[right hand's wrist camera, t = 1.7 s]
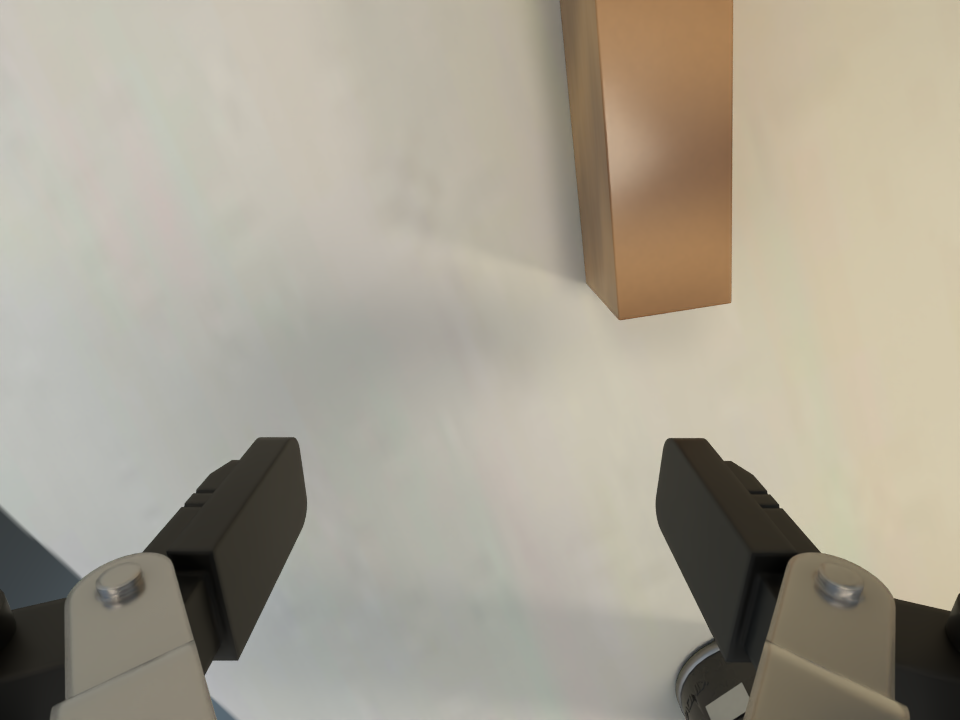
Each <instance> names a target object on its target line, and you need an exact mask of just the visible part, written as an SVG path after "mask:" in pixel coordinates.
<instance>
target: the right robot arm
mask: <svg viewBox="0 0 960 720" xmlns="http://www.w3.org/2000/svg"><path fill="white" fill-rule="evenodd" d="M306 511H307V496H306V489H305V482H304V475H303V468H302V461H301V454H300V448H299V444H298V441H297V440H296V438H294V437H260V438H258V439H256V440H255V442H254V443H253V444H252V445H251V447H250V448H249V449H248V450H247V451H246V453H245V454H244V455H243V456H242V458H241V459H240V460H231V461H230V462H228V463H227V464H225V465H224V466H222V467H220V468H219V469H217V470H216V471H214V472H213V473H211V474H210V475H209V476H208V477H207V478H206V479H205V481H204V482H203V483H202V484H201V485H200V486H199V488H198V489H197V490H196V493H193V495H192V496H191V497H190V498H189V499H188V500H187V501H186V503H185V506H184V507H181V508H180V510H179V511H178V512H177V513H176V514H175V515H174V516H173V518H172V519H171V520H170V521H169V522H168V523H167V525H166V526H165V527H164V528H163V529H162V530H161V532H160V533H159V534H158V535H157V536H156V537H155V538H154V540H153V541H152V542H151V543H150V544H149V545H148V547H147V548H146V549H145V550H144V551H143V552H142V553H137V554H132V555H127V556H124V557H121V558H118V559H115V560H113V561H110V562H108V563H106V564H104V565H102V566H100V567H98V568H97V569H95V570H93V571H92V572H90V573H89V574H88V575H86V576H85V577H84V578H82V579H81V580H80V581H79V582H78V583H77V584H76V585H75V586H74V587H73V588H72V590H71V591H70V593H69V594H68V596H67V598H63V599H58V600H54V601H49V602H45V603H40V604H36V605H32V606H27V607H23V608H18V609H14V610H11V609H10V606H9V604H8V602H7V599H6V597H5V595H4V593H3V591H2V590H0V720H217V719H216V715H215V712H214V708H213V705H212V701H211V697H210V694H209V690H208V687H207V683H206V680H205V674H206V672H207V670H208V668H209V666H210V664H211V663H212V661H213V660H238V659H239V657H240V655H241V653H242V651H243V649H244V647H245V645H246V643H247V641H248V639H249V637H250V635H251V633H252V631H253V629H254V627H255V624H256V622H257V620H258V618H259V616H260V614H261V612H262V610H263V608H264V606H265V604H266V602H267V600H268V598H269V596H270V594H271V592H272V589H273V587H274V585H275V583H276V581H277V579H278V577H279V575H280V573H281V571H282V569H283V567H284V565H285V563H286V561H287V559H288V557H289V554H290V552H291V550H292V548H293V546H294V544H295V542H296V540H297V538H298V536H299V534H300V532H301V530H302V528H303V525H304V522H305V518H306ZM656 515H657V520H658V524H659V527H660V529H661V531H662V533H663V535H664V537H665V540H666V542H667V544H668V546H669V548H670V550H671V552H672V554H673V556H674V558H675V560H676V562H677V564H678V566H679V568H680V570H681V572H682V574H683V576H684V578H685V580H686V582H687V584H688V586H689V588H690V590H691V592H692V594H693V596H694V599H695V601H696V603H697V605H698V607H699V609H700V611H701V613H702V615H703V617H704V619H705V621H706V623H707V625H708V627H709V629H710V631H711V633H712V635H713V637H714V639H715V642H713V643H711V644H709V645H707V646H705V647H704V648H702V649H701V650H699V651H698V652H697V653H695V654H694V655H693V656H692V657H691V658H690V659H689V660H688V661H687V662H686V664H685V665H684V666H683V668H682V669H681V671H680V673H679V675H678V678H677V682H676V696H677V700H678V703H679V705H680V708H681V710H682V713H683V714H684V716H685V719H686V720H960V594H959V595H958V597H957V599H956V601H955V604H954V606H953V608H952V611H947V610H942V609H938V608H934V607H929V606H925V605H920V604H916V603H911V602H907V601H903V600H898V599H895V598H893V596H892V594H891V593H890V591H889V590H888V588H887V587H886V586H885V585H884V584H883V583H882V582H881V581H880V580H879V579H878V578H876V577H875V576H874V575H872V574H871V573H870V572H868V571H867V570H865V569H863V568H862V567H860V566H858V565H856V564H854V563H852V562H850V561H847V560H845V559H842V558H839V557H836V556H833V555H828V554H823V553H821V552H820V551H819V550H818V549H817V548H816V547H815V545H814V544H813V543H812V542H811V541H810V540H809V538H808V537H807V536H806V535H805V534H804V533H803V532H802V530H801V529H800V528H799V527H798V526H797V525H796V524H795V522H794V521H793V520H792V519H791V518H790V517H789V516H788V514H787V513H786V512H785V511H784V510H783V509H782V508H779V504H778V503H777V502H776V501H775V500H774V498H773V497H772V496H771V495H768V494H767V490H766V489H765V488H764V487H763V486H762V485H761V483H760V482H759V481H758V480H757V479H756V478H755V477H754V475H752V474H751V473H749V472H748V471H746V470H744V469H743V468H741V467H740V466H738V465H737V464H735V463H733V462H732V461H723V460H722V458H721V457H720V456H719V455H718V453H717V452H716V451H715V450H714V448H713V447H712V446H711V445H710V444H709V442H708V441H707V440H706V439H704V438H669V439H667V440H666V442H665V444H664V447H663V454H662V460H661V467H660V474H659V481H658V488H657V495H656Z"/></svg>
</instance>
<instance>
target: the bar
mask: <svg viewBox="0 0 960 720" xmlns="http://www.w3.org/2000/svg"><path fill="white" fill-rule="evenodd" d="M560 8H561V19H562V29H563V40H564V51H565V61H566V72H567V82H568V93H569V104H570V114H571V125H572V135H573V146H574V157H575V167H576V178H577V188H578V199H579V210H580V220H581V231H582V241H583V252H584V263H585V273H586V283H587V285H588V286H589V287H590V288H591V289H592V290H593V291H594V293H595V294H596V295H597V296H598V297H599V298H600V299H601V300H602V302H603V303H604V304H605V305H606V306H607V307H608V308H609V309H610V311H611V312H612V313H613V314H614V315H615V316H616V317H617V318H618V320H625V319H631V318H638V317H644V316H651V315H657V314H663V313H670V312H676V311H683V310H689V309H696V308H702V307H708V306H715V305H721V304H728V303H731V267H732V87H733V0H560Z"/></svg>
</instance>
